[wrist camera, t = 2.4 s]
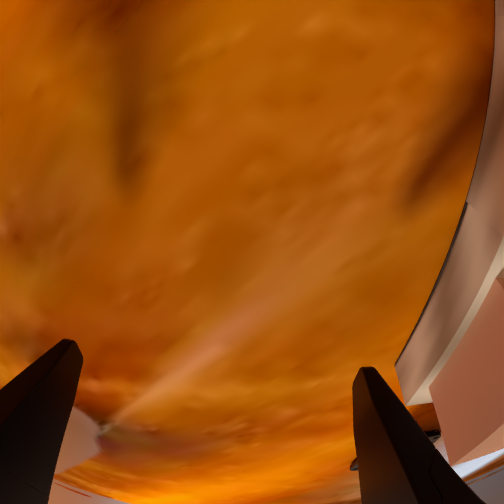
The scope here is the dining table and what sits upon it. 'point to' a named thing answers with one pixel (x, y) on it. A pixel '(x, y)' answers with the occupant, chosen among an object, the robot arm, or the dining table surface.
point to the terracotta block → (474, 385)
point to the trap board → (464, 252)
